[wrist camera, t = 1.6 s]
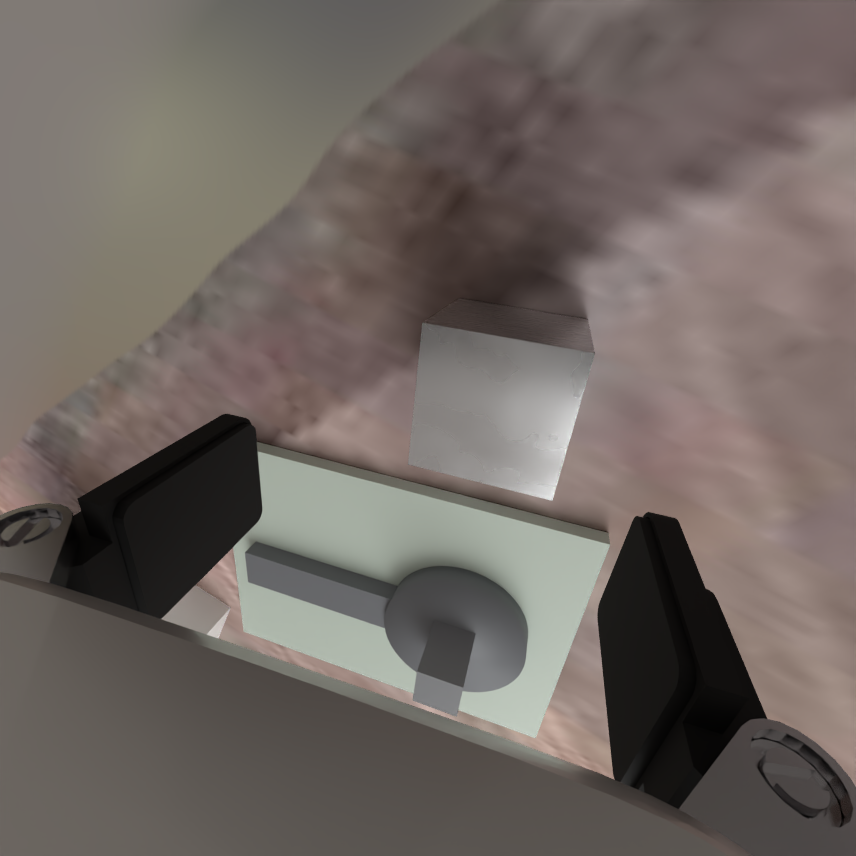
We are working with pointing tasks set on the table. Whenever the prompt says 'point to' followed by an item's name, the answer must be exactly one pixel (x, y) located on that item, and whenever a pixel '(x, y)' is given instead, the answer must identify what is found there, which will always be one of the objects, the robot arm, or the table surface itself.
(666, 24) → the table surface
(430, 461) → the brushed aluminum cube
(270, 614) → the board
